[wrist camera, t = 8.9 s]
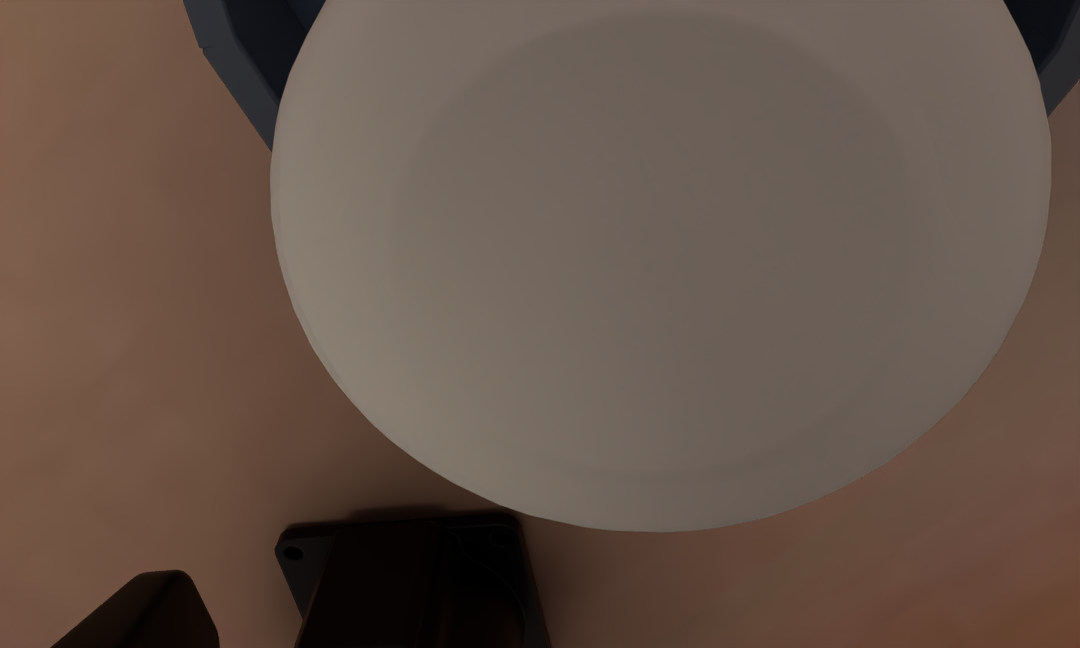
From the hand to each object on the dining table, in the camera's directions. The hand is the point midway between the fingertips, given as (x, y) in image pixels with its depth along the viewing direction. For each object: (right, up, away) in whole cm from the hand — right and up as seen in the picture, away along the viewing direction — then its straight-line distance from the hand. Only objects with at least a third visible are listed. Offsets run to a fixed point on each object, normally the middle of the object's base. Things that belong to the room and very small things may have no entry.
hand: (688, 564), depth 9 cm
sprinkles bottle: (0, +10, +9) cm, 13 cm away
